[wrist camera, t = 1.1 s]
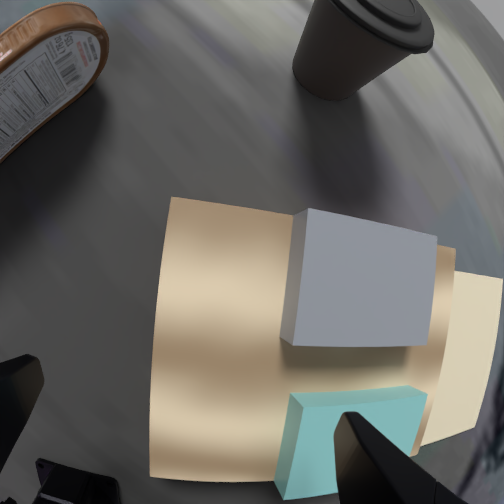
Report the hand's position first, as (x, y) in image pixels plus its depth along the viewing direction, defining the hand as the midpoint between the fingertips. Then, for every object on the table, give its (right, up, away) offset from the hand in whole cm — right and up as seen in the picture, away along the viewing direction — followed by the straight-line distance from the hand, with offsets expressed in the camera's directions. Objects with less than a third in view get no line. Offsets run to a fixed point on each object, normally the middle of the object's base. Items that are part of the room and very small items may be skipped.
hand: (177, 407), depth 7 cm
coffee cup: (+8, +18, +14) cm, 24 cm away
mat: (+20, -6, +15) cm, 26 cm away
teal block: (+7, -7, +8) cm, 13 cm away
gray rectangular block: (+8, +2, +9) cm, 12 cm away
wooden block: (+5, -2, +12) cm, 13 cm away
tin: (-14, +13, +9) cm, 21 cm away
